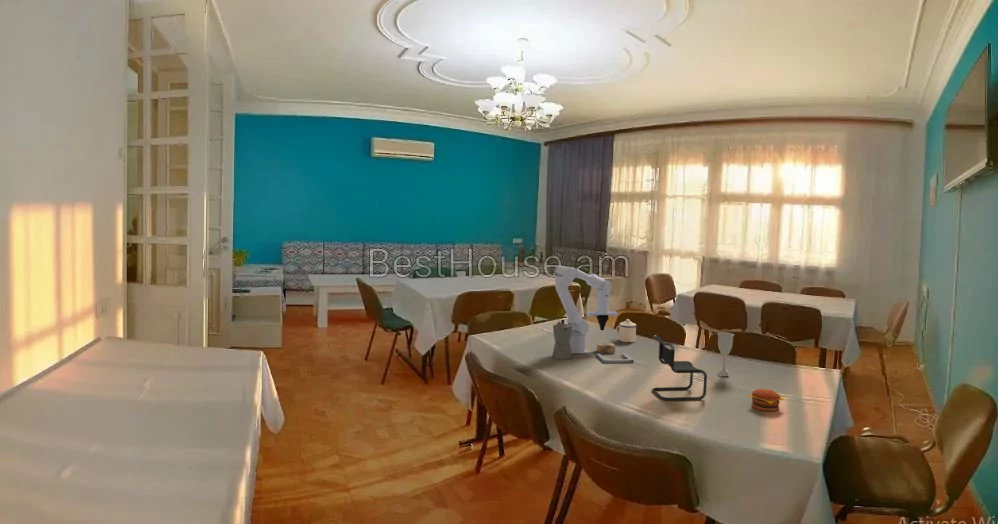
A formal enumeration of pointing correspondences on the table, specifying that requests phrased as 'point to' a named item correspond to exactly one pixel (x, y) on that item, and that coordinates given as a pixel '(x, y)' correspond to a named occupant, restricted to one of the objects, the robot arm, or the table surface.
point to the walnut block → (605, 347)
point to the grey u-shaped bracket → (626, 360)
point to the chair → (677, 370)
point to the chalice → (724, 349)
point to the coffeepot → (562, 340)
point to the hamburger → (765, 400)
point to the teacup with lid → (627, 331)
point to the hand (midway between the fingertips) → (602, 329)
